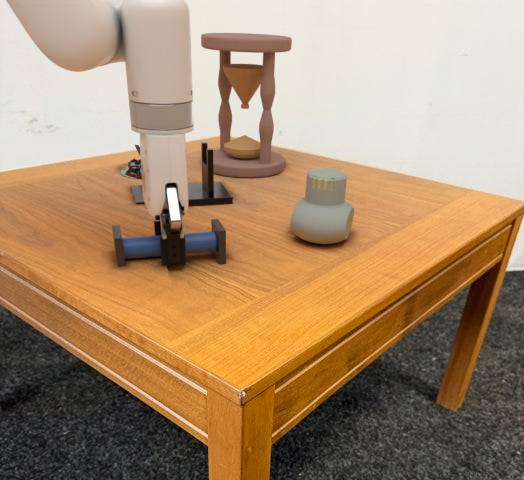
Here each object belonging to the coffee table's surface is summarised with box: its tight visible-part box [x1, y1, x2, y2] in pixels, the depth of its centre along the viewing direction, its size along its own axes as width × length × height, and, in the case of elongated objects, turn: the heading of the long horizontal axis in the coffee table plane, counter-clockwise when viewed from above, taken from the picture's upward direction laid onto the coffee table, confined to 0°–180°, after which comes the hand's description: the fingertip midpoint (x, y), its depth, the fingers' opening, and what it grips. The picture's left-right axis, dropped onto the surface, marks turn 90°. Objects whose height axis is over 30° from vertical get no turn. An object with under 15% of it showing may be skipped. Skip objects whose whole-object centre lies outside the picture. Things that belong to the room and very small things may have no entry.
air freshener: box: [290, 167, 355, 245], centre depth 83 cm, size 11×8×10 cm
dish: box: [120, 144, 142, 180], centre depth 113 cm, size 8×7×8 cm
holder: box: [130, 141, 234, 210], centre depth 98 cm, size 17×10×9 cm, turn 106°
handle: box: [111, 218, 227, 268], centre depth 75 cm, size 15×5×5 cm, turn 106°
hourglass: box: [200, 32, 293, 179], centre depth 113 cm, size 18×18×25 cm
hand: (170, 255), depth 76 cm, fingers open, 5 cm apart
